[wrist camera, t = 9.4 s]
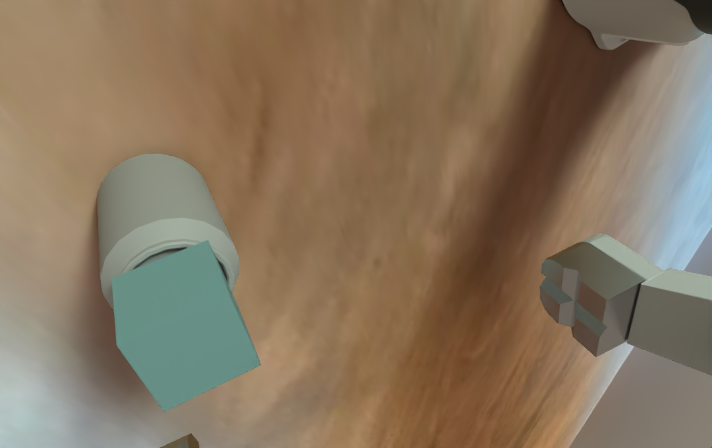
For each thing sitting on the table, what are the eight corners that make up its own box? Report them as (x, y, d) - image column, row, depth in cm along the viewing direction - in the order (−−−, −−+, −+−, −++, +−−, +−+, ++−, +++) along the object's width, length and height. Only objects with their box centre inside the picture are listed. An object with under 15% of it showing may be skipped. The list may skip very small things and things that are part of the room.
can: (214, 227, 39) (254, 322, 30) (113, 251, 36) (122, 363, 27) (197, 140, 35) (237, 218, 26) (82, 159, 32) (81, 254, 23)
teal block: (208, 239, 26) (229, 295, 22) (237, 305, 29) (261, 364, 25) (111, 278, 24) (116, 345, 20) (152, 342, 27) (164, 411, 23)
